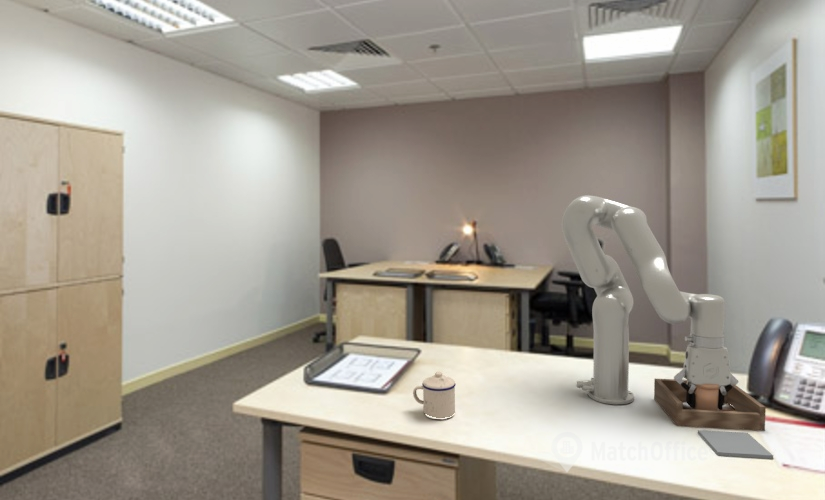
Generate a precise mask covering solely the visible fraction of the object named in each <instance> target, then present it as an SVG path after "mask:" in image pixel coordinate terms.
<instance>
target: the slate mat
mask: <svg viewBox="0 0 825 500" xmlns="http://www.w3.org/2000/svg"><path fill="white" fill-rule="evenodd" d="M697 434H698V435H699V436H700V438H701V439H702V440H703V441H704V442H705V443H706V445H708V446H709V448H711V450H712V451H713V452H714V453H715V454H716V455H717V456H718V457H732V458H735V457H736V458H747V459H748V458H751V459H753V458H754V459H764V460H765V459H767V460H774V454H772V453H771V452H770V451H769V450H768V449H767V448H765V447H764V446H763V445H762V444H761V443H760V442H759V441H758V440H757V439H755V438H754V437H753V436H752V435H751V434H750V433H749V432H745V431H744V432H740V431H726V430H724V431H723V430H722V431H721V430H720V431H719V430H703V429H697Z"/></svg>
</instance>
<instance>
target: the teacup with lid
mask: <svg viewBox="0 0 825 500" xmlns="http://www.w3.org/2000/svg"><path fill="white" fill-rule="evenodd" d="M417 390H423V391H422V392H423V393H422V395H423V396H422V397H423V400H422V399H420V398H419V397H418V394H417ZM455 391H456V381H455V380H454V379H453V378H451V377H449V376H446V375H443V372H442V371H435V373H434V375H432V376H429V377H427V378H425V379H423V380H422V385H418V386H416V387H415V388H414V389H413V391H412V394H413V398H414V400H415V402H417V403H418V404H420V405H423V414H424V413H425V414H427V415H429V416H432V417H436V418H445V417H450V416H452V415H453V414H454V413H455V414H456V392H455Z"/></svg>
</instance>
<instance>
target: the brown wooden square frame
mask: <svg viewBox="0 0 825 500" xmlns="http://www.w3.org/2000/svg"><path fill="white" fill-rule="evenodd" d="M682 380H683V381H684V382H685V383H686V384H687V381H688V380H687V379H682ZM653 386H654V389H653V390H654V392H653V393H654V394H653V395H654V396H653V399H654V400H655V402H656V403H657V404H658V405H659V406H660V407H661V409H662V410H663V412H665V413H666V415H667V416H668V417H669V419H671V421H672V422H673V423H674V425H676V426H677V427H687V428H689V427H692V428H707V429H709V428H710V429H725V430H726V429H727V430H747V431H763V432H764V431H766V412H767V411H766V409H767V408H766V406H765V405H764V404H763V403H761V402H759V400H757V399H755V398H754V397H752V396H751V395H750V394H749V393H747V392H746V391H744V390H743V389H742V388H740V387H739V386H737V384H736V385H735V386H734V387H732V389H731V390H729V391H728V392H727V394H726V395H724V404H727V403H728V404H727V405H729V404H731V405H733V406H734V407H735V410H734V411H733V410H731V411H728V410H718V411H712V410H692V408H691V409H687V408H685V409H684V407H683V406H684V405H683V402H685V403H687V402H686V390H685V389H684V388H683V387H682V386H681V385H680V384H679V383H678V382H677V381H676V380H675V379H674V378H654V385H653Z"/></svg>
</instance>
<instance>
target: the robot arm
mask: <svg viewBox="0 0 825 500" xmlns="http://www.w3.org/2000/svg"><path fill="white" fill-rule="evenodd" d="M593 225H595V226H599V227H601V228H605V229H608V230H611V231H613V232H614V234H615V236H616V237H617V239H618V242H620V245H621V246H622V248H623V250H624V251H625V253H626V255H627V257H628V258H629V260H630V262H631V264H632V265H633V268H634V271H635V274H636V276H637V278H638V279H639V281H640V283H641V285H642V288H643V291H644V293H645V294H646V296H647V298H648V300H649V302H650V303H651V306H653V307H652V308H653V309H654V310H655V311H656V312H655V313H657V315H658V317H659V318H660V319H661V320H663V321H664V322H665V323H668V324H671V325H678V324H682V323H683V322H685V321H686V320H687V319H688V318H690V333H689V335H688V336H687V335H686V336H684V341H685V342H688V344H687V347H686V351H685V353H684V354H685V355H684V360H683V369H681V370H680V371H679V372H678V373H676V374H675V375H674V376H673V379H675V380H676V381H677V382H678V383H679V384H680V385H681V386H682V387H683V388H684V389H685V390H686V402H685V403H686V404H687V406H689V407H690V408H691V409H692V408H693V409H694V408H695V394H694V390H695V388H696V386H695V385H702V384H715V385H719V386H721V388H720V389H719V397H718V411H723V410H724V409H723V406H725V403H724V395H726V394H727V392H728V391H729V390H731V389H732V387H734V386H735V385H736V386H737V385H738V383H739V379H737V378H736V377H735V376H734V375H733V373H732V372H731V363H730V357H729V356H730V355H729V351H728V348H727V347H726V346H724V341H725V340H724V339H725V338H724V337H725V316H726V315H725V312H726V309H725V308H726V301H725V299H724V297H722V296H720V295H718V294H711V293H699V294H697V293H692V292H691V293H690V292H685V291H680V290H679V288H678V286H677V284H676V281H674V278H673V276H672V274H671V272H670V269H669V267H668V261H667V256H666V254H665V252H664V250H663V248H662V247H661V245H660V244H659V242H658V240H657V239H656V237H655V235H654V233H653V232H652V230H651V227H650V226H649V224H648V219H647V215H646V214H645V212H644V211H643V210H642V209H641V208H638V207H636V206H635V207H634V206H630V205H627V204H624V203H620V202H618V201H614V200H610V199H607V198H604V197H601V196H596V195H590V194H589V195H581V196H578V197H577V198H575V199H573V200H572V201H571V202H570V203H569V205H568V206H567V207H566V208H565V210H564V212H563V215H562V218H561V233H562V235H563V238H564V241H565V243H566V245H567V247H568V250H569V252H570V255H571V258H572V260H573V262H574V264H575V266H576V269H577V272H578V274H579V276H580V278H581V281H582V282H583V283H584V284H585V285H586V286H587V287H589V288H593V289H594V291H595V294H596V297H595V299H594V301H593V303H592V307H591V308H592V310H591V311H592V313H591V314H592V315H591V316H592V326H593V329H592V330H593V369H592V370H593V376H592V377H591V378H590V380H587V381H582V380H577V381H576V387H577V388H579V389H582V390H583V391H587V396H589V397H590V398H591V399H592V400H594V401H596V402H599V403H603V404H608V405H627V404H631V403H632V402H634V400H635V395H634V393H633V392H631V391H630V390H629V374H630V373H629V371H630V370H629V367H630V366H629V364H630V363H629V360H630V359H629V357H630V355H629V354H630V332H629V328H630V327H629V315H630V312H631V311H633V308H634V297H633V294H632V292H631V290H630V287H629V285H628V283H627V281H626V279H625V277H624V275H623V272H622V271H621V268H620V266H619V264H618V263H617V261H616V260H615V259H614V258H613V257H612V256H611V255H609V254H605V252H604V250H603V249H602V246H601V245H600V242H599V240H598V237H597V236H596V234H595V232H594V230H593ZM683 380H688V381H687V384H686V383H685V382H684V381H683Z"/></svg>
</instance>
